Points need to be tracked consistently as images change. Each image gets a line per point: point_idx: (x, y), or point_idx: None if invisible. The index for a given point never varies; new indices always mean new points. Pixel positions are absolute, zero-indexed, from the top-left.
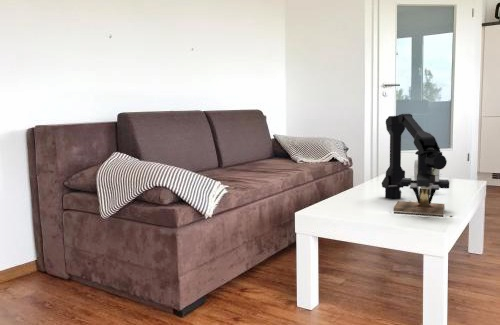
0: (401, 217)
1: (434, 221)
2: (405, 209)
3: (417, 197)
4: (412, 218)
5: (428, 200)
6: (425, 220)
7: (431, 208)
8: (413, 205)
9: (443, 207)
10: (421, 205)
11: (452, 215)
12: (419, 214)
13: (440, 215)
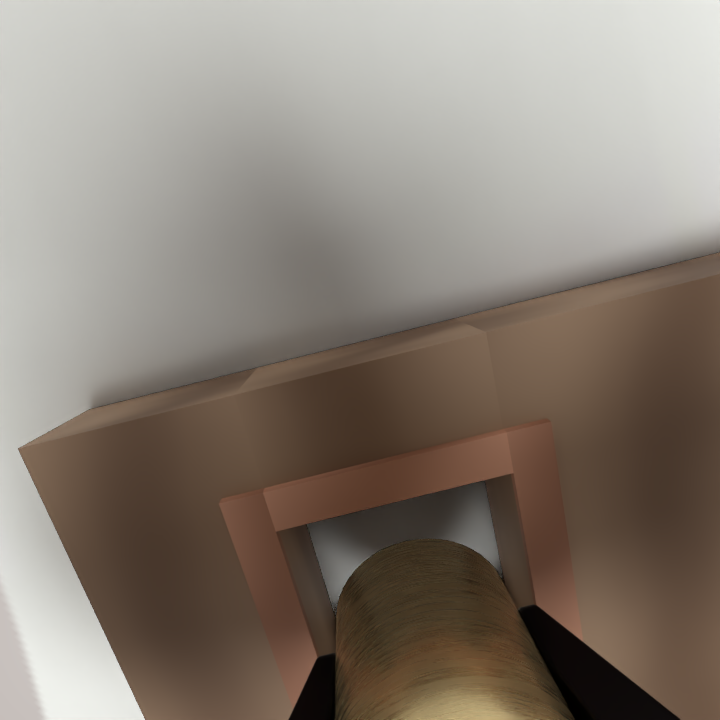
0: (608, 43)
1: (69, 52)
2: (657, 283)
3: (630, 706)
4: (436, 71)
5: (340, 700)
6: (215, 43)
7: (251, 496)
8: (593, 581)
9: (134, 685)
10: (451, 546)
11: (35, 565)
12: (406, 334)
13: (110, 406)
